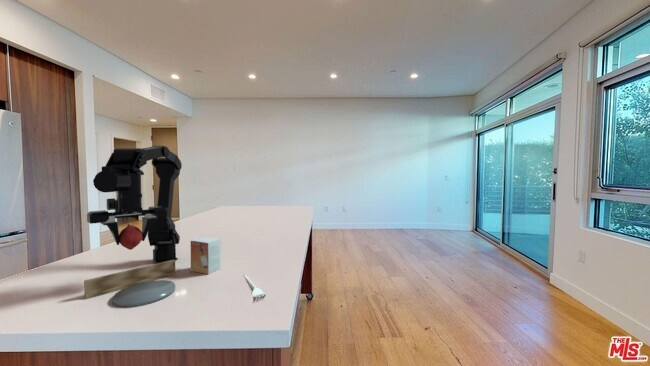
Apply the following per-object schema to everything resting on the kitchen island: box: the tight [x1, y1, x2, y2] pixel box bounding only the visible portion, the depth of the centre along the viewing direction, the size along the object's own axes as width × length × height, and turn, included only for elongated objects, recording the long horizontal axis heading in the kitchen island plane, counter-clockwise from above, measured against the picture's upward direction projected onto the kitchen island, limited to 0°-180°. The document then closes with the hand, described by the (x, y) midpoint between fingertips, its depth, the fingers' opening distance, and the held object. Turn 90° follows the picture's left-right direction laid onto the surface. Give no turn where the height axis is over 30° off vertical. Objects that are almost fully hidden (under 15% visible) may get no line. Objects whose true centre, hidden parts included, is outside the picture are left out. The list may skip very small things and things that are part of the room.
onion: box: [119, 222, 143, 250], centre depth 79 cm, size 6×6×8 cm
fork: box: [243, 274, 268, 298], centre depth 77 cm, size 3×20×2 cm, turn 30°
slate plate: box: [112, 279, 176, 308], centre depth 72 cm, size 14×14×1 cm
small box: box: [190, 237, 222, 275], centre depth 89 cm, size 8×6×10 cm
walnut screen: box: [83, 260, 177, 300], centre depth 78 cm, size 22×2×4 cm, turn 140°
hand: (130, 242), depth 79 cm, fingers closed on onion, 6 cm apart
